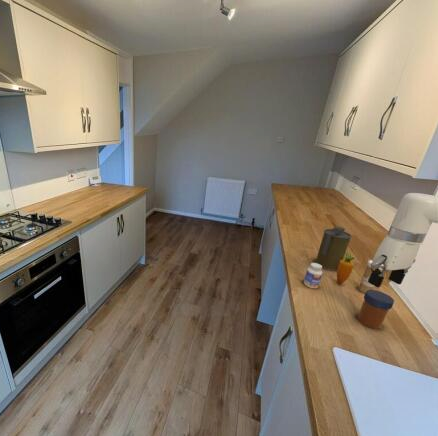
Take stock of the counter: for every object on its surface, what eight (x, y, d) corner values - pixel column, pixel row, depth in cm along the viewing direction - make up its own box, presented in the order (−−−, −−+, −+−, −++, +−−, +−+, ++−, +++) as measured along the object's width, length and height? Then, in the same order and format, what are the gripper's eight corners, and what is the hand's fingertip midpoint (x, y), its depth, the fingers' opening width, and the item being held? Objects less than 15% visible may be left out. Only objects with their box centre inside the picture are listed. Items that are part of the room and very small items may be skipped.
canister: (323, 258, 124) (334, 222, 117) (345, 268, 115) (358, 230, 108) (309, 261, 120) (319, 225, 113) (330, 272, 111) (343, 233, 104)
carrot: (348, 288, 100) (360, 257, 95) (334, 286, 102) (345, 255, 96) (343, 281, 104) (354, 251, 99) (330, 279, 106) (340, 249, 101)
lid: (373, 294, 83) (376, 288, 83) (396, 308, 77) (400, 301, 76) (358, 297, 82) (360, 290, 81) (380, 311, 76) (383, 304, 75)
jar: (366, 314, 86) (376, 290, 82) (385, 327, 80) (397, 302, 77) (352, 316, 85) (362, 292, 81) (371, 330, 79) (382, 304, 75)
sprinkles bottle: (359, 292, 98) (371, 264, 93) (356, 286, 102) (366, 258, 97) (374, 295, 96) (386, 266, 91) (369, 289, 100) (381, 261, 95)
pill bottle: (311, 289, 99) (317, 269, 96) (300, 282, 104) (305, 262, 100) (321, 287, 100) (327, 267, 97) (310, 280, 105) (315, 261, 102)
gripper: (411, 228, 76) (391, 274, 82) (369, 231, 73) (351, 279, 79) (443, 237, 69) (418, 287, 75) (398, 242, 66) (375, 293, 72)
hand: (384, 283), depth 77 cm, fingers open, 8 cm apart
